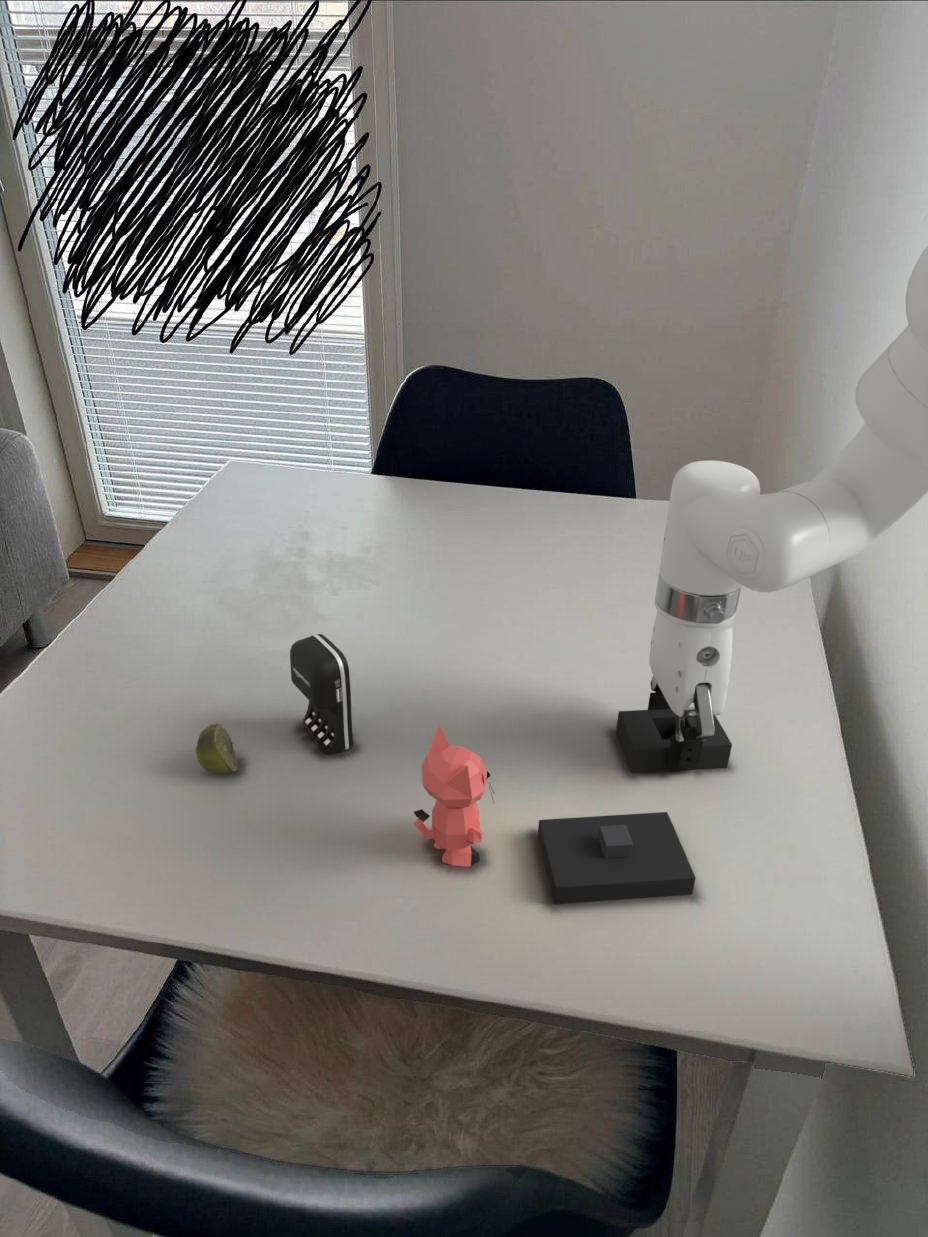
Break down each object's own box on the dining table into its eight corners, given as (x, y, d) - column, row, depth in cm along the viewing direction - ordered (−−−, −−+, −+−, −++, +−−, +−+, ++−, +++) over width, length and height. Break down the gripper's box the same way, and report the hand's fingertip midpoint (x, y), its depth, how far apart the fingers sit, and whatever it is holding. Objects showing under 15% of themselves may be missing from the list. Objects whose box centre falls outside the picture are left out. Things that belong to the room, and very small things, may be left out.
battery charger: (292, 727, 94) (282, 637, 88) (324, 715, 96) (316, 626, 90) (322, 762, 89) (314, 669, 83) (355, 749, 91) (350, 656, 85)
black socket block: (705, 728, 95) (710, 706, 93) (727, 767, 89) (732, 744, 88) (615, 733, 94) (618, 711, 92) (631, 773, 88) (634, 749, 87)
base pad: (664, 827, 82) (669, 799, 80) (692, 894, 75) (698, 865, 73) (537, 835, 80) (539, 807, 79) (554, 904, 74) (557, 874, 72)
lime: (227, 747, 91) (220, 708, 88) (254, 769, 88) (249, 729, 85) (188, 767, 88) (181, 728, 85) (216, 790, 85) (209, 750, 82)
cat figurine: (503, 865, 77) (509, 759, 71) (431, 889, 75) (431, 781, 69) (470, 813, 83) (473, 711, 77) (402, 834, 80) (399, 730, 74)
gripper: (773, 641, 75) (736, 799, 84) (704, 552, 90) (679, 694, 99) (688, 645, 74) (660, 804, 83) (633, 554, 89) (614, 697, 98)
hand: (671, 743), depth 91 cm, fingers closed on black socket block, 6 cm apart
